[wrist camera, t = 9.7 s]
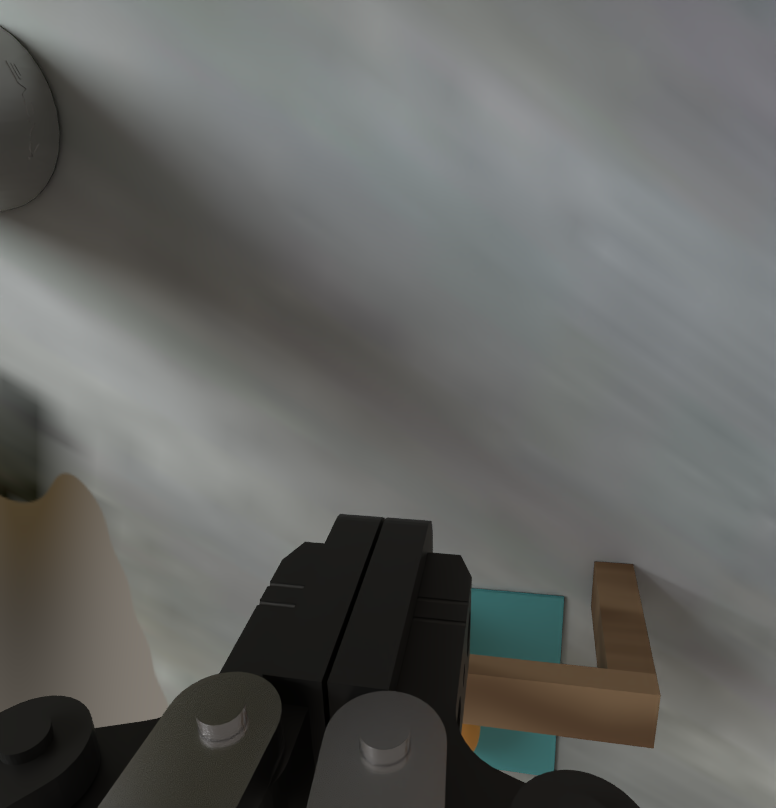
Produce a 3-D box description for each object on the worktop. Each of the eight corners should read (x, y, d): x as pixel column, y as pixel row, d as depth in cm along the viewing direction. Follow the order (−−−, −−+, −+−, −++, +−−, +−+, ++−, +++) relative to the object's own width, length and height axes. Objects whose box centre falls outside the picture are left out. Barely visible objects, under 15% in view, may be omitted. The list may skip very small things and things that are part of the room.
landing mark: (400, 752, 45) (400, 755, 45) (390, 581, 40) (389, 583, 40) (553, 774, 43) (553, 777, 43) (563, 596, 38) (564, 598, 38)
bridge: (628, 609, 37) (653, 748, 29) (334, 582, 41) (282, 700, 33) (633, 564, 36) (660, 695, 28) (330, 540, 40) (275, 651, 32)
